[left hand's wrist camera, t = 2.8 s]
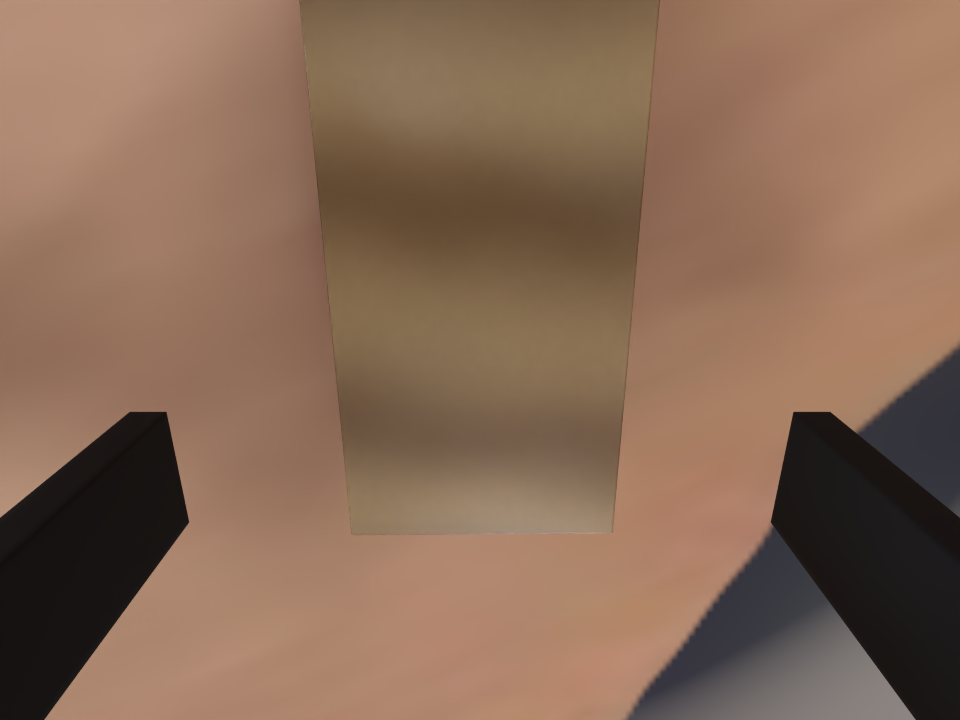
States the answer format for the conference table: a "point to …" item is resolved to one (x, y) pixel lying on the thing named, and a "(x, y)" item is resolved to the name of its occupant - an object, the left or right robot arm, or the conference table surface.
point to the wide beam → (480, 252)
